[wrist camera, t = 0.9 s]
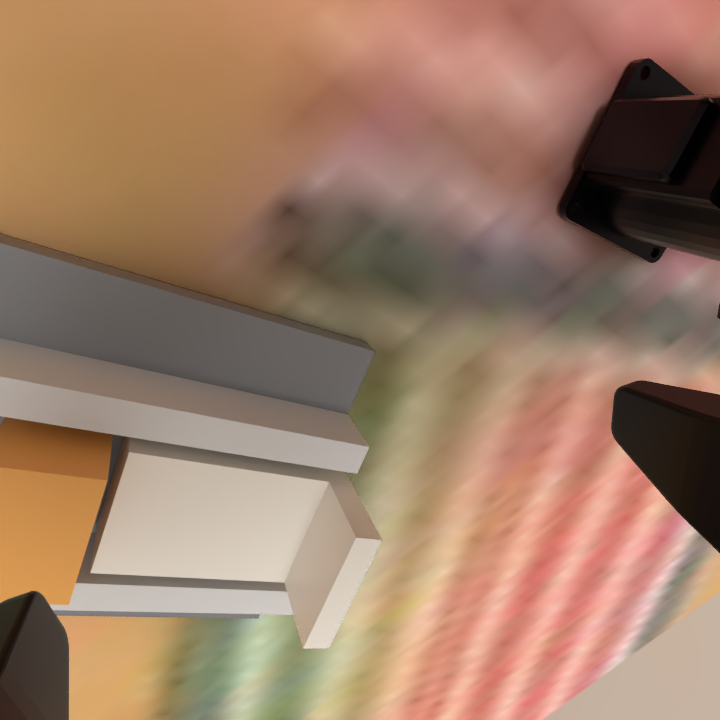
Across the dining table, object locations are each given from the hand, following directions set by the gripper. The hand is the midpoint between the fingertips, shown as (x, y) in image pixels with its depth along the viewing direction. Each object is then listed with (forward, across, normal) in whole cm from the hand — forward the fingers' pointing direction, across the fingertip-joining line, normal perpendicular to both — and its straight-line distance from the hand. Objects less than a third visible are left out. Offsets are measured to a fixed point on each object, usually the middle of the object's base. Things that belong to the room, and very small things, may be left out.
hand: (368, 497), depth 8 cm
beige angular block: (+12, +3, +8) cm, 14 cm away
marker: (+12, +8, +4) cm, 15 cm away
